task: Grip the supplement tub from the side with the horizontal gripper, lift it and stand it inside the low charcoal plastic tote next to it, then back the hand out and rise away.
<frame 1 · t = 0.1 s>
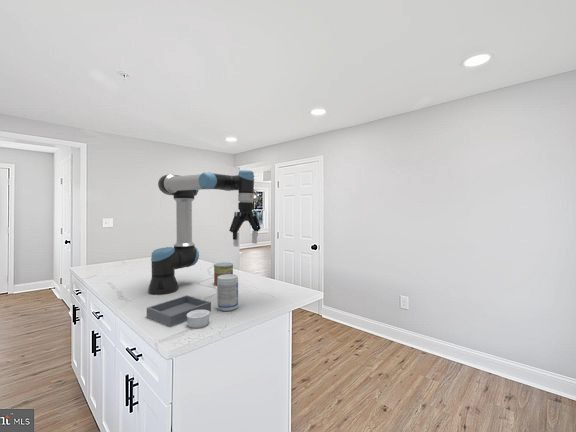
hand: (245, 244, 139), 28 cm above the countertop, tool pointing down, fingers open, 13 cm apart
canned food: (223, 284, 169), on the countertop
ramekin: (198, 324, 112), on the countertop
tote: (179, 313, 122), on the countertop
supplement tub: (227, 308, 129), on the countertop
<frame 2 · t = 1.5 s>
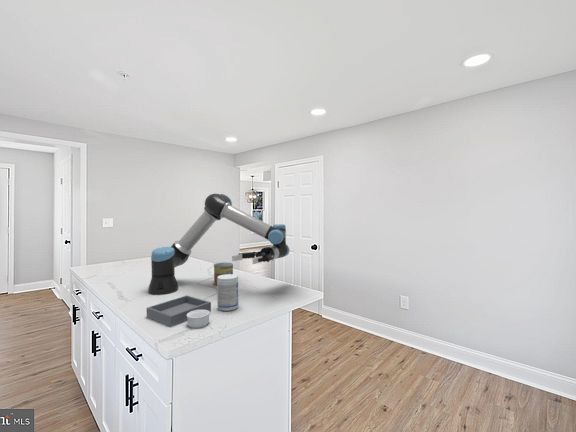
hand: (242, 259, 137), 21 cm above the countertop, tool horizontal, fingers open, 13 cm apart
nothing on the countertop moved.
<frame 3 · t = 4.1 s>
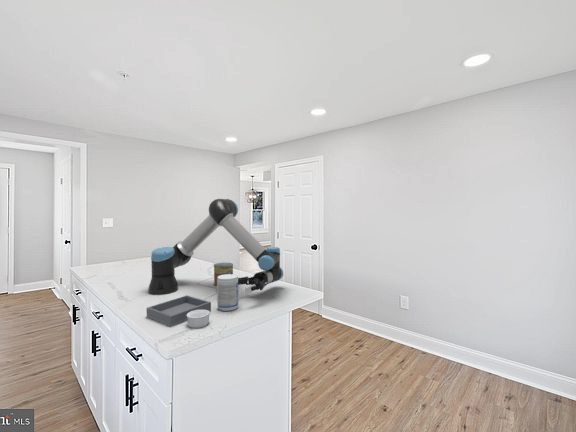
hand: (234, 288, 132), 8 cm above the countertop, tool horizontal, fingers open, 13 cm apart
nothing on the countertop moved.
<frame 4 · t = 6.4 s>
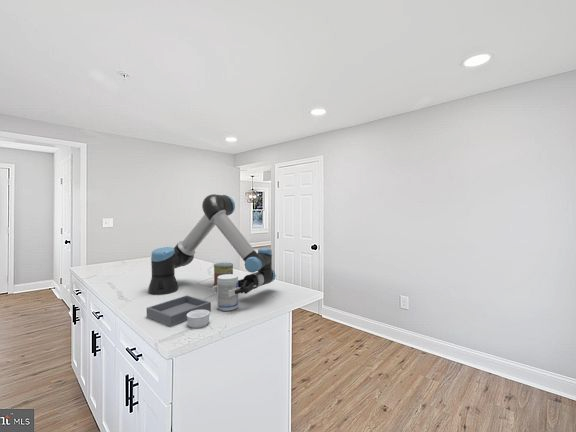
hand: (220, 291, 125), 9 cm above the countertop, tool horizontal, fingers closed on supplement tub, 9 cm apart
supplement tub: (227, 308, 129), on the countertop, touching gripper
everything else where it was.
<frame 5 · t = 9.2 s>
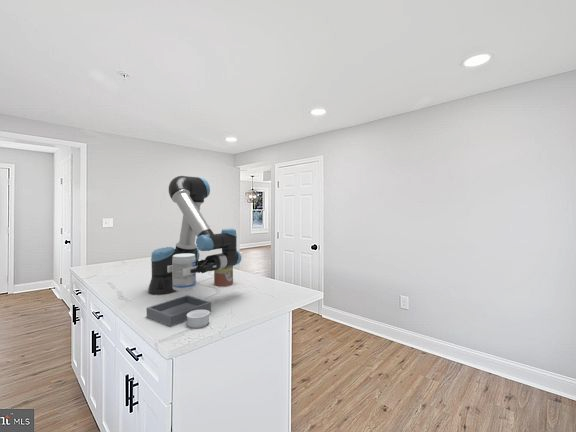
hand: (175, 270, 118), 20 cm above the countertop, tool horizontal, fingers closed on supplement tub, 9 cm apart
supplement tub: (184, 288, 122), point 11 cm above the countertop, touching gripper
everything else where it was.
when the fingers open (10 cm above the countertop, at t = 12.1 s): supplement tub stays where it is, resting on tote.
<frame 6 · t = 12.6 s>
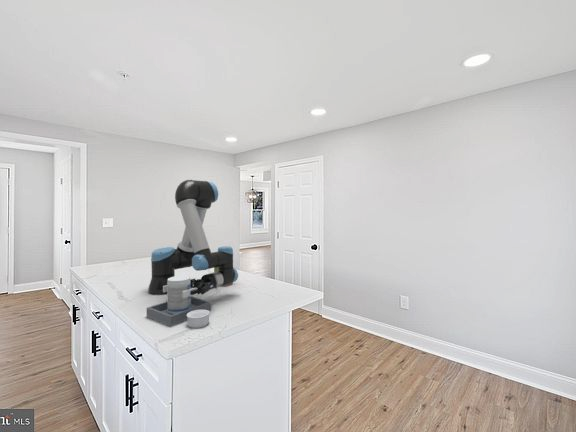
hand: (172, 291, 119), 10 cm above the countertop, tool horizontal, fingers open, 13 cm apart
supplement tub: (179, 311, 122), point 1 cm above the countertop, touching tote
everything else where it was.
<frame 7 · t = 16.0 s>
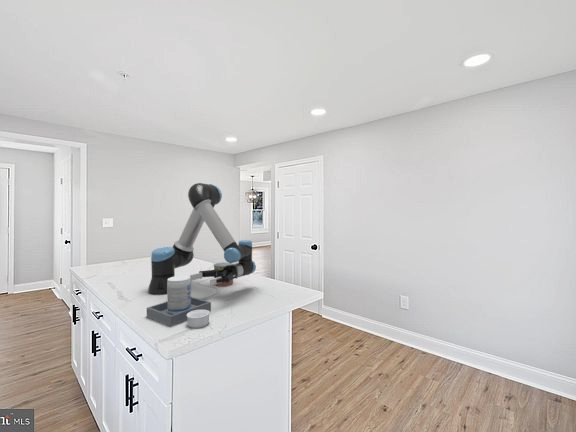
hand: (200, 280, 130), 13 cm above the countertop, tool horizontal, fingers open, 13 cm apart
nothing on the countertop moved.
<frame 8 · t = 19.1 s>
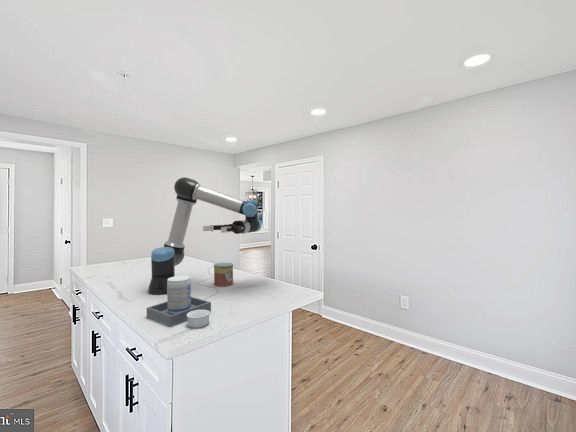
hand: (212, 229, 145), 35 cm above the countertop, tool horizontal, fingers open, 13 cm apart
nothing on the countertop moved.
at the end: supplement tub inside the target area on the tote (0.3 cm from its centre), point 0.8 cm above the tote's base; supplement tub tilted 0°; the gripper is holding nothing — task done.
